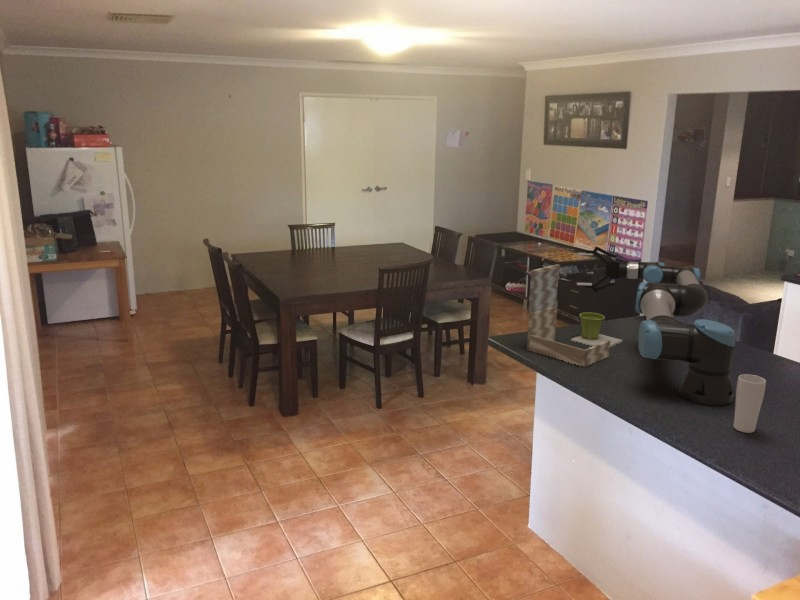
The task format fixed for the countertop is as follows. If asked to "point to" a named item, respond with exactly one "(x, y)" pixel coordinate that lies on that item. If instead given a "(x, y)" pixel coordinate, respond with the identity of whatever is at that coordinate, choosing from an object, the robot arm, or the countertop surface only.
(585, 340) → the stone pad
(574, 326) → the countertop surface
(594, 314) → the plant pot
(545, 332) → the zigzag patterned stand
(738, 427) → the drinking glass
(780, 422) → the countertop surface
